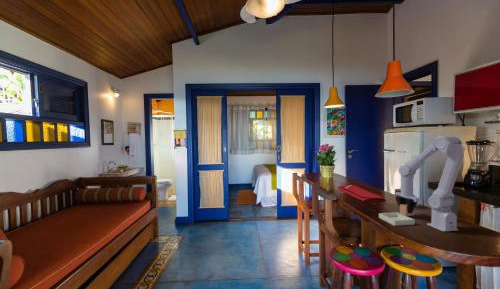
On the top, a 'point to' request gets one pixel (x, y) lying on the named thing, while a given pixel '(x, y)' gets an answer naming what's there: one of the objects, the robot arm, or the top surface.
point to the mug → (398, 196)
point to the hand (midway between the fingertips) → (406, 211)
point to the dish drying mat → (360, 193)
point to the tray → (396, 219)
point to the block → (405, 210)
